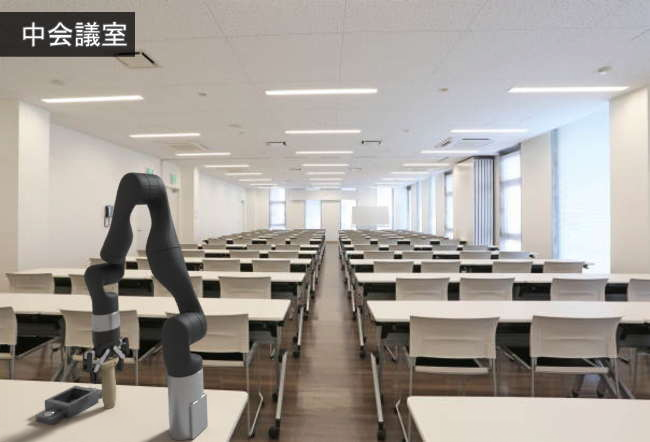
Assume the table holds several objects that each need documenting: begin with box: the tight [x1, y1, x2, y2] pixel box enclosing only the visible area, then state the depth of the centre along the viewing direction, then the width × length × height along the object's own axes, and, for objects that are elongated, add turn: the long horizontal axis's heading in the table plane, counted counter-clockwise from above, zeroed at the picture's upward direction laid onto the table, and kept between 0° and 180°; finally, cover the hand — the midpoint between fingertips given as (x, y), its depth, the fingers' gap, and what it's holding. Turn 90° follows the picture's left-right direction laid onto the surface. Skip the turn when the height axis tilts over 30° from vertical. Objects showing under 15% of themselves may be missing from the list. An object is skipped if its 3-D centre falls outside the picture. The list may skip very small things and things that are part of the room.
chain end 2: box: [70, 385, 102, 418], centre depth 111 cm, size 10×12×4 cm
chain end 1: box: [35, 386, 75, 426], centre depth 107 cm, size 10×12×4 cm
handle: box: [98, 356, 119, 410], centre depth 109 cm, size 5×6×15 cm
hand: (107, 376), depth 109 cm, fingers open, 8 cm apart
